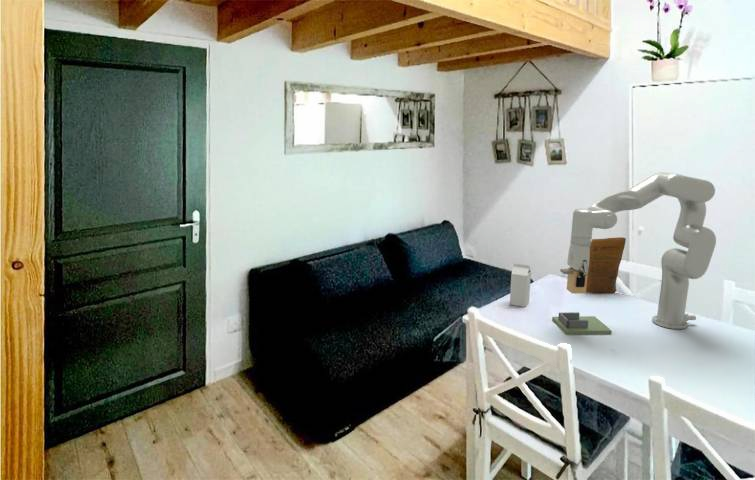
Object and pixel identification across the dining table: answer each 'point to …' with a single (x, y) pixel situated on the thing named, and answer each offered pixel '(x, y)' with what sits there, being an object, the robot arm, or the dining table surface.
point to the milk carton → (520, 285)
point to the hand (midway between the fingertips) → (576, 284)
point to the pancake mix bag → (604, 264)
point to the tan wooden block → (574, 280)
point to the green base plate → (580, 324)
